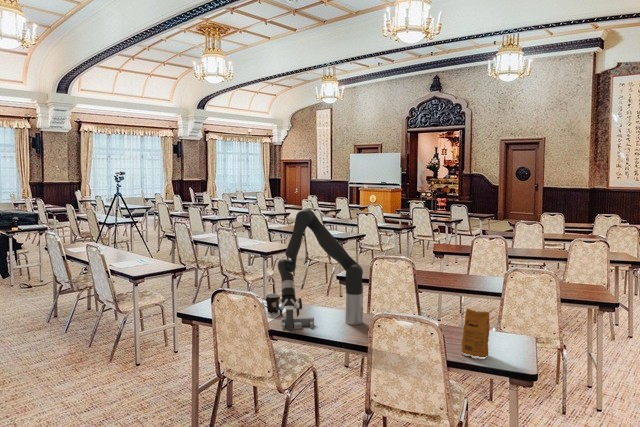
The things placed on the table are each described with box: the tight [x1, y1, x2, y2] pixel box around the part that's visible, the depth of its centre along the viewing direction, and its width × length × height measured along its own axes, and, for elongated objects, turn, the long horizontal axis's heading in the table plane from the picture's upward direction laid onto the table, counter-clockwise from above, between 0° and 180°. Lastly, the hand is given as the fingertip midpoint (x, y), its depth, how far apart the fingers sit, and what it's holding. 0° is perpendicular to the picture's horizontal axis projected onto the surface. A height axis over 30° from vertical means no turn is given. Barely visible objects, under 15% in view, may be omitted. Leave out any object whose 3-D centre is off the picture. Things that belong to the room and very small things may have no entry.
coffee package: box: [461, 308, 490, 357], centre depth 229 cm, size 10×12×22 cm
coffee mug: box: [261, 293, 281, 314], centre depth 295 cm, size 12×9×10 cm
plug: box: [285, 306, 294, 330], centre depth 265 cm, size 4×4×12 cm
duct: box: [280, 316, 315, 330], centre depth 268 cm, size 18×7×4 cm, turn 98°
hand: (289, 316), depth 263 cm, fingers open, 8 cm apart
